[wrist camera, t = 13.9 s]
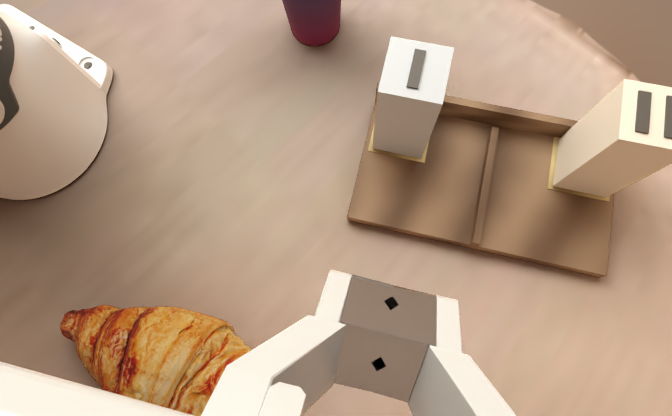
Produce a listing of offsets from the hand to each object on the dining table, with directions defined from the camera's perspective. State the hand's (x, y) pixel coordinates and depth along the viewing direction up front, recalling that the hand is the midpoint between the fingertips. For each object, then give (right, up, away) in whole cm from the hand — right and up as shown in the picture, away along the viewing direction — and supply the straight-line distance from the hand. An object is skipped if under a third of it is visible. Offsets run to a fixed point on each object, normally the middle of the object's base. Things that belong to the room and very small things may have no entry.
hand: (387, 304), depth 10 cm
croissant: (-14, -12, +27) cm, 32 cm away
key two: (+20, +6, +28) cm, 35 cm away
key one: (+5, +9, +30) cm, 32 cm away
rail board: (+12, +4, +30) cm, 32 cm away
